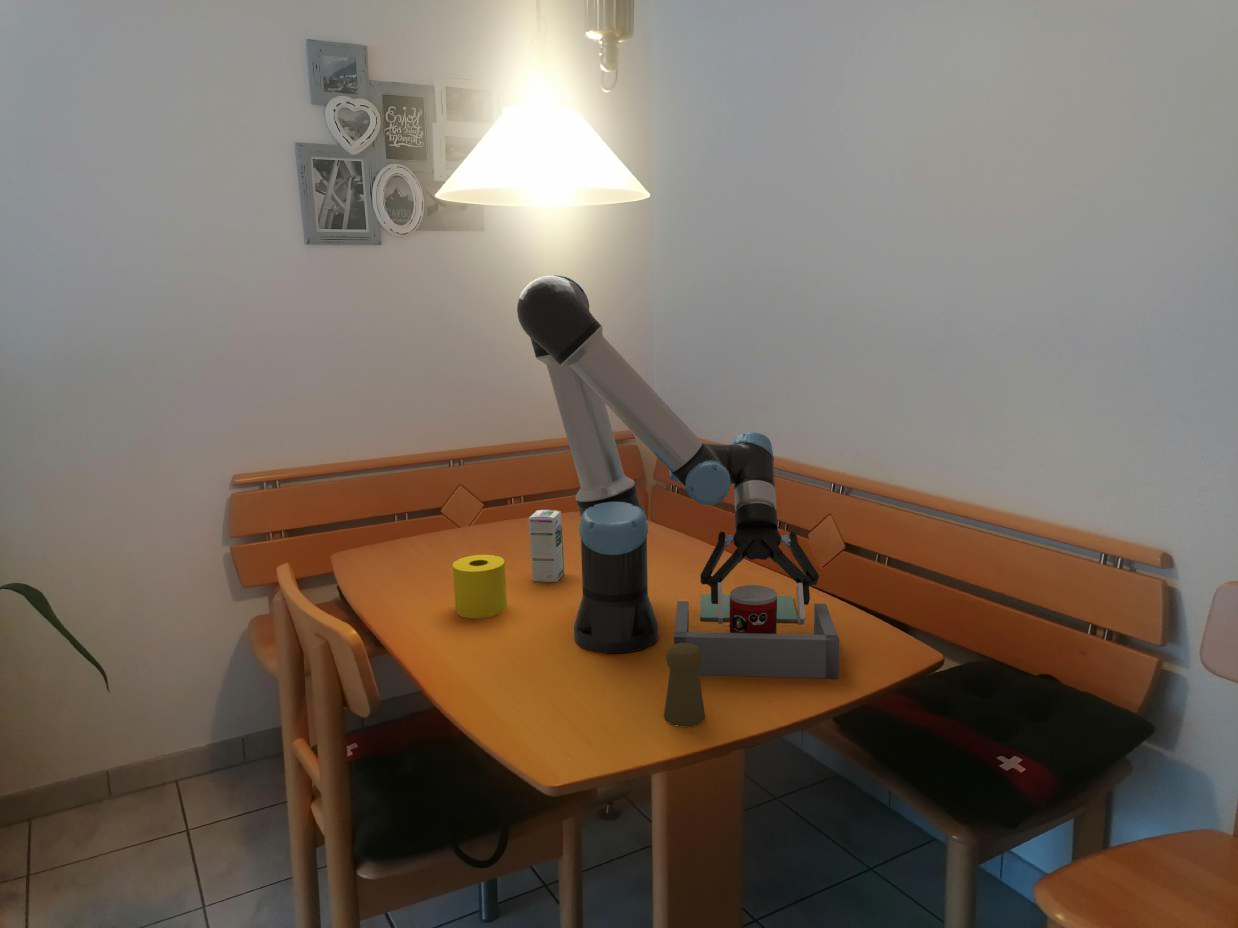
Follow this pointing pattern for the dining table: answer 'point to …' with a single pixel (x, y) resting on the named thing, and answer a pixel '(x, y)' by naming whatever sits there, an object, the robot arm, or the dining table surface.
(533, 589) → the dining table surface
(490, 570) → the tape roll
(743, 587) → the canned food
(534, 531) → the syrup box
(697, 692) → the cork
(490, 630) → the dining table surface
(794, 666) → the open box
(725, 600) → the green mat
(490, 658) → the dining table surface
